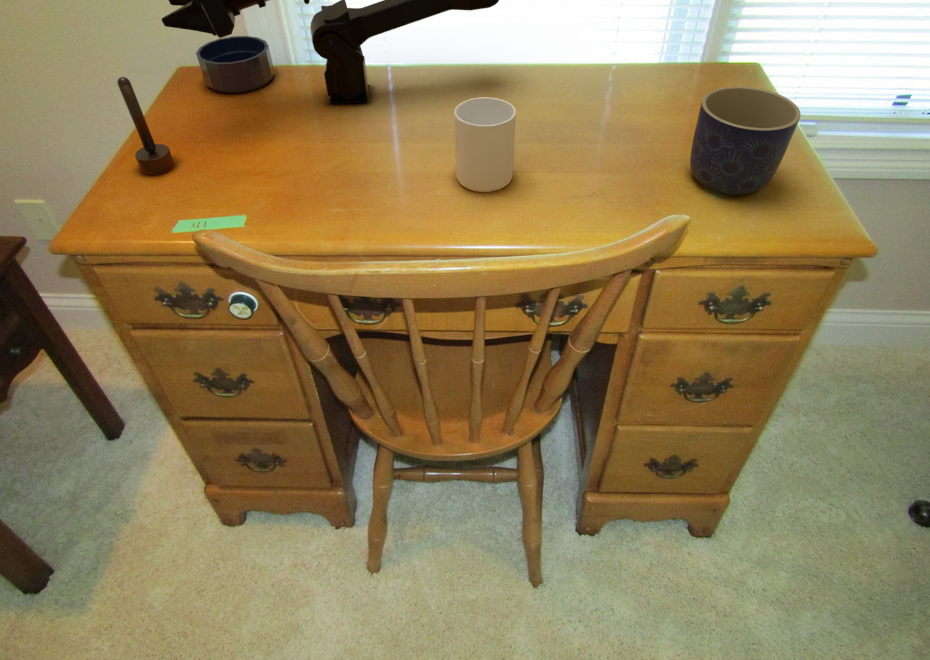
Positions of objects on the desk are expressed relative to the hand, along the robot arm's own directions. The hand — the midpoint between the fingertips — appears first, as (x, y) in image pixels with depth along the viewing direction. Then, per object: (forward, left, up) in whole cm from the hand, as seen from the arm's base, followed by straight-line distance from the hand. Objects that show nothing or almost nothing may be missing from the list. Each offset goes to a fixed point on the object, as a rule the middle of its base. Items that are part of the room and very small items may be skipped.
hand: (166, 11), depth 96 cm
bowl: (-4, -13, -16) cm, 21 cm away
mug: (-47, +21, -16) cm, 54 cm away
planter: (-82, +25, -16) cm, 88 cm away
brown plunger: (+2, +17, -16) cm, 24 cm away
